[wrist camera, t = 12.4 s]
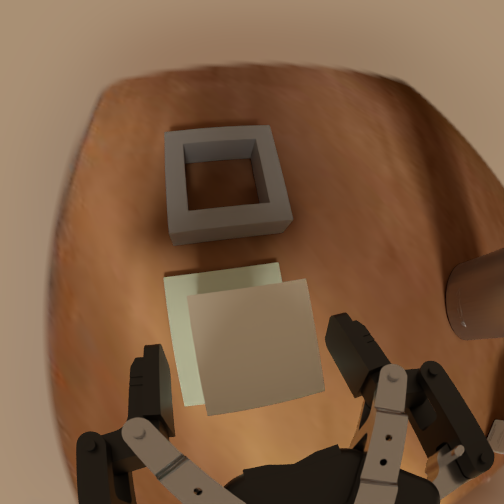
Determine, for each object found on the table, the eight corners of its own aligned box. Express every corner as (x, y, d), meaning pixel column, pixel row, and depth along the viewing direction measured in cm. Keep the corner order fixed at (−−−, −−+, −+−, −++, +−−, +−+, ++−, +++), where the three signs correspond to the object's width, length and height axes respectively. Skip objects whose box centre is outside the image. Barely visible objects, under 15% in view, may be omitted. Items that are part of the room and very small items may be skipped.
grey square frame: (263, 144, 25) (269, 125, 23) (283, 232, 23) (293, 219, 21) (167, 152, 24) (164, 132, 21) (173, 245, 22) (168, 233, 19)
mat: (277, 263, 23) (278, 262, 22) (298, 384, 20) (300, 385, 20) (164, 278, 21) (163, 277, 20) (185, 404, 19) (184, 406, 18)
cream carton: (256, 303, 21) (305, 278, 11) (266, 360, 20) (324, 390, 10) (197, 311, 20) (186, 295, 10) (207, 370, 19) (207, 415, 9)
